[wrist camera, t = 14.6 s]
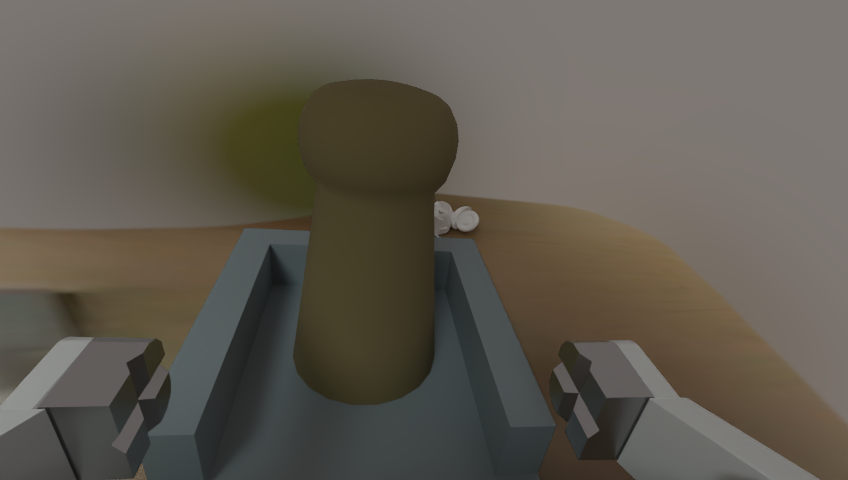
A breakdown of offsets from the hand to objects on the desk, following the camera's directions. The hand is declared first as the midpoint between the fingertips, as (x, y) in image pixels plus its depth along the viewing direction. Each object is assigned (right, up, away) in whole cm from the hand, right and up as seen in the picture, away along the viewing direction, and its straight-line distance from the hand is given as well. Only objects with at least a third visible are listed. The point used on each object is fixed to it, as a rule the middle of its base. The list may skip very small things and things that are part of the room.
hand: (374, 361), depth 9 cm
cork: (-2, -2, +10) cm, 10 cm away
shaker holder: (-2, -4, +8) cm, 9 cm away
